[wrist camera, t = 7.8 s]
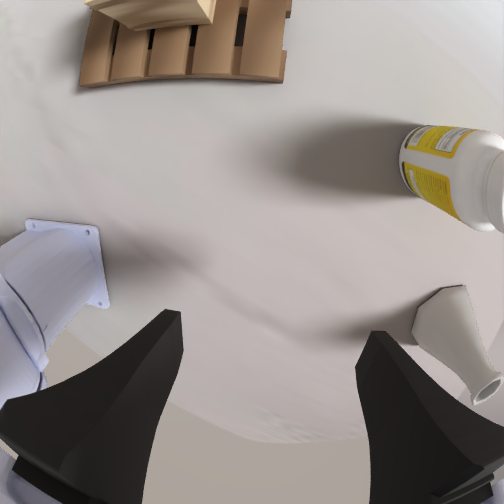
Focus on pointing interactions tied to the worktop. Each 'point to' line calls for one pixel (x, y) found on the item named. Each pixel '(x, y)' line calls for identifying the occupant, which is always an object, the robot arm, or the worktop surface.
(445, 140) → the supplement bottle
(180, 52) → the pallet
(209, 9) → the cardboard box
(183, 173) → the worktop surface
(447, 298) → the flask
